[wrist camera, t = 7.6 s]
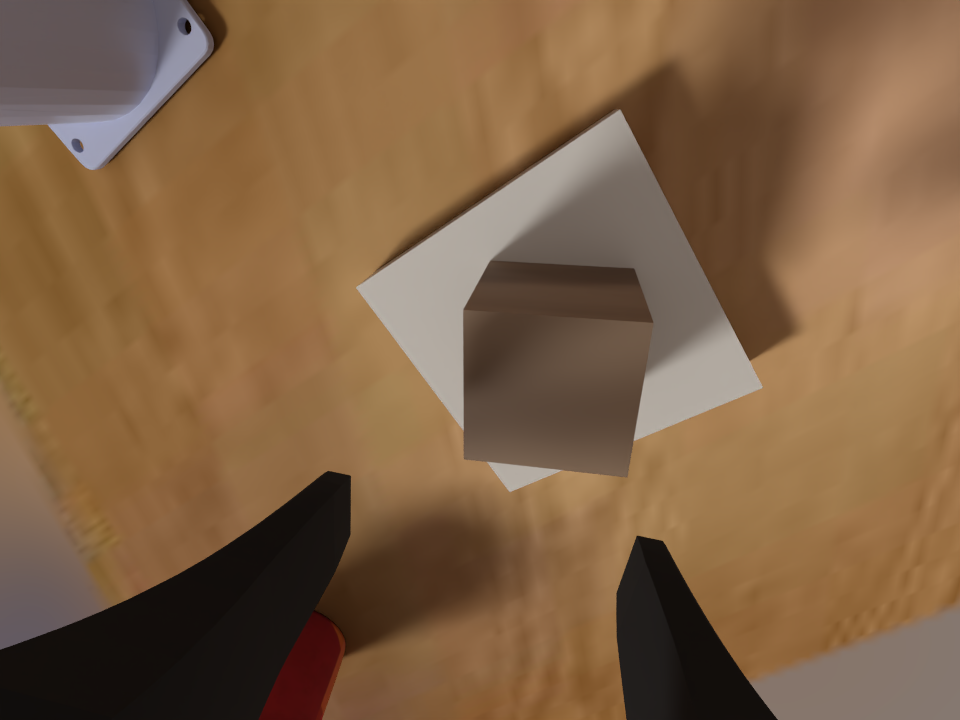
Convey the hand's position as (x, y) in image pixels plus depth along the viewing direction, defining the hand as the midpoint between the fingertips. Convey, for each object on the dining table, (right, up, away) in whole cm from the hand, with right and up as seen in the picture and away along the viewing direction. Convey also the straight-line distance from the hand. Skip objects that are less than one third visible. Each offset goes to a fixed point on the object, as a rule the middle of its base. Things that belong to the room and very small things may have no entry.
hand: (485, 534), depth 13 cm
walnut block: (+3, +6, +6) cm, 9 cm away
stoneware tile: (+3, +6, +8) cm, 11 cm away
